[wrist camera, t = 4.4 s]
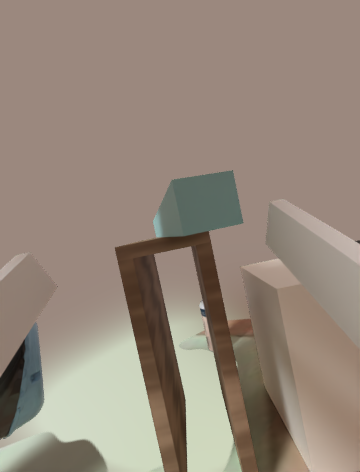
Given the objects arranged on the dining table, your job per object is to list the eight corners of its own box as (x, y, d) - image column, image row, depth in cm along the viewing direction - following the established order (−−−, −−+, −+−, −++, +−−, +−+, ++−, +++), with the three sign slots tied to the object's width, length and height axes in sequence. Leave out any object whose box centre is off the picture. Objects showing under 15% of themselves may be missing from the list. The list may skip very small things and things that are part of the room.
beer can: (224, 356, 41) (213, 305, 41) (205, 352, 44) (195, 304, 43) (230, 343, 45) (220, 296, 45) (212, 340, 48) (203, 296, 47)
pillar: (403, 462, 20) (368, 270, 19) (314, 479, 20) (276, 288, 19) (319, 375, 32) (296, 254, 31) (264, 386, 32) (240, 266, 31)
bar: (243, 223, 10) (232, 170, 10) (183, 236, 9) (171, 180, 9) (174, 233, 34) (171, 217, 34) (156, 237, 33) (153, 221, 33)
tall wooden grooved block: (263, 496, 20) (207, 227, 19) (174, 513, 20) (114, 247, 19) (230, 390, 33) (196, 228, 32) (176, 401, 33) (141, 240, 32)
